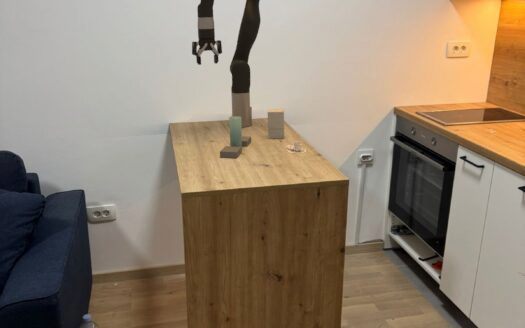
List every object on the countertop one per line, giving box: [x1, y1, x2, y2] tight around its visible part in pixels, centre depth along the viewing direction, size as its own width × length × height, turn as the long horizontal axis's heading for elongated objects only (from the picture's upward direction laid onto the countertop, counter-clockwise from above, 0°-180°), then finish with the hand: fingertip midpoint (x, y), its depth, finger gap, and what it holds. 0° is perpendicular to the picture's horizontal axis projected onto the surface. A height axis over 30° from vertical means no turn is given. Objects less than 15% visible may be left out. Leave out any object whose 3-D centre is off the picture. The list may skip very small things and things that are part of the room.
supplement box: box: [267, 108, 285, 139], centre depth 226 cm, size 7×7×13 cm
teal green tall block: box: [229, 115, 243, 148], centre depth 206 cm, size 5×5×14 cm
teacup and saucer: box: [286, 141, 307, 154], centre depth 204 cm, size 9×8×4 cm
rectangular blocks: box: [219, 135, 252, 159], centre depth 207 cm, size 25×7×2 cm, turn 168°
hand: (207, 63), depth 225 cm, fingers open, 8 cm apart
